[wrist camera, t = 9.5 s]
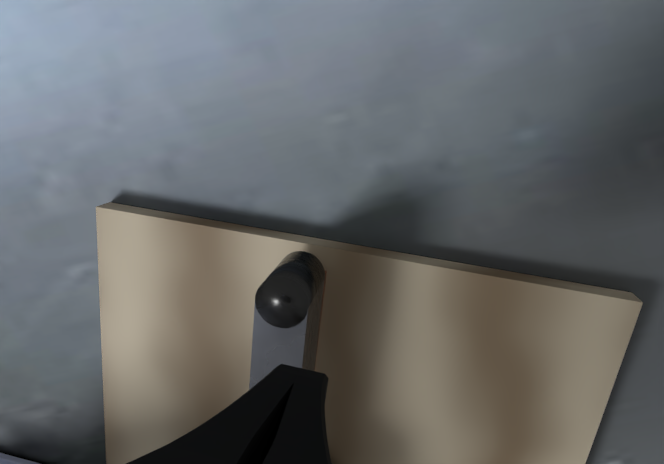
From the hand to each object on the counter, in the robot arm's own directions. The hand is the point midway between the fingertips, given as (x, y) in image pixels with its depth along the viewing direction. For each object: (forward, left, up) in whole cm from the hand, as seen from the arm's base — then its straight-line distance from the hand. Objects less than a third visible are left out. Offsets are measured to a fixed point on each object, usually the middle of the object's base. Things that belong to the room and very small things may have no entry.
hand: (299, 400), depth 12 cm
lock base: (0, -11, -9) cm, 14 cm away
